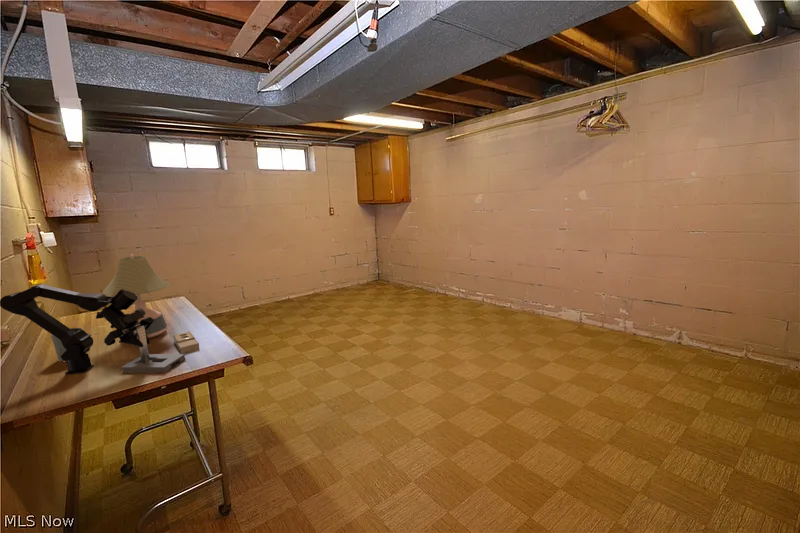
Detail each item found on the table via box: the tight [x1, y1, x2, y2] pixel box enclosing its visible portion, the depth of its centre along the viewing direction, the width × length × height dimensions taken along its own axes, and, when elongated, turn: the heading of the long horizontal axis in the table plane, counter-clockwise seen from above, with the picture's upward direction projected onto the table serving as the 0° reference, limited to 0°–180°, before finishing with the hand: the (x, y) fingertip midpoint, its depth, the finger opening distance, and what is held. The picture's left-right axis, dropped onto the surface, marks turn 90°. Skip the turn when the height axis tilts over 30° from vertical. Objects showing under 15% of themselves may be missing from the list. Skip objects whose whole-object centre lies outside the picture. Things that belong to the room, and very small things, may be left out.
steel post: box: [136, 326, 153, 364], centre depth 143 cm, size 5×5×16 cm
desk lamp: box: [101, 254, 171, 340], centre depth 175 cm, size 26×28×42 cm
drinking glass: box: [50, 327, 83, 362], centre depth 154 cm, size 10×10×12 cm
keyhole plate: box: [120, 353, 186, 373], centre depth 144 cm, size 18×12×2 cm, turn 86°
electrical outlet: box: [173, 331, 200, 354], centre depth 164 cm, size 7×4×18 cm
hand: (145, 344), depth 143 cm, fingers closed on steel post, 3 cm apart
